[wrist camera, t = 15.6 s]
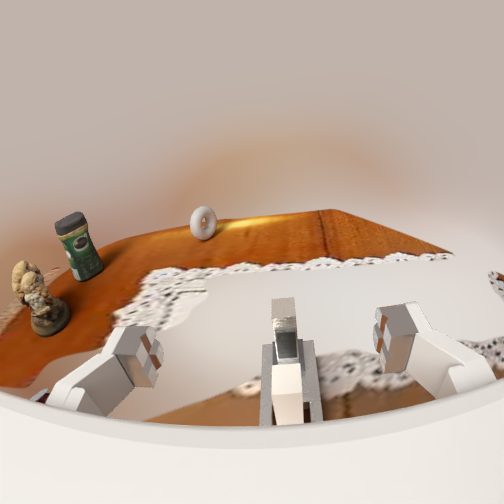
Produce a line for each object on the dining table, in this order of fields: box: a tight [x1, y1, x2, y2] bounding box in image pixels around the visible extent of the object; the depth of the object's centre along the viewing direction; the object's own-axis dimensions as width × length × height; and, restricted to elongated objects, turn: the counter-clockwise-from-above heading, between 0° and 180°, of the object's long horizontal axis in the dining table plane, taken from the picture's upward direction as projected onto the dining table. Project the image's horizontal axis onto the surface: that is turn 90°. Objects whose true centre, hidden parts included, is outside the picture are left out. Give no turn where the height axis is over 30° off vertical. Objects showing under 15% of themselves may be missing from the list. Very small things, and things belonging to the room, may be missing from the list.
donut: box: [190, 206, 217, 240], centre depth 90 cm, size 10×4×10 cm, turn 147°
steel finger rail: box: [259, 297, 323, 426], centre depth 37 cm, size 20×8×12 cm, turn 177°
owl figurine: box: [12, 261, 71, 337], centre depth 61 cm, size 18×12×17 cm, turn 47°
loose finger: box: [271, 363, 304, 425], centre depth 33 cm, size 5×3×12 cm, turn 177°
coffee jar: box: [55, 212, 104, 281], centre depth 79 cm, size 10×8×19 cm
